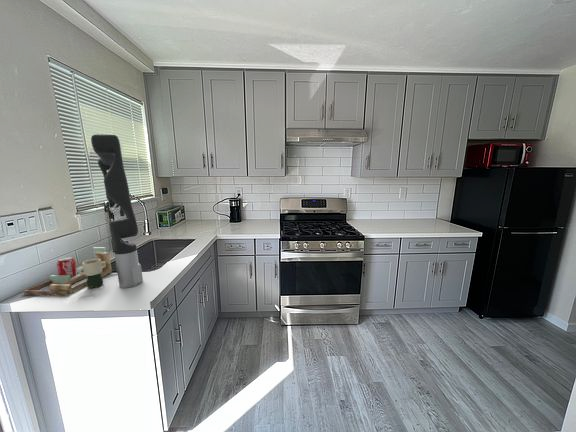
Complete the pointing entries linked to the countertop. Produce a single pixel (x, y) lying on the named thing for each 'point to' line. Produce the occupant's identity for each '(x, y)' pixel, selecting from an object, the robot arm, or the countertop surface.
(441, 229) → the countertop surface
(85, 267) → the character mug
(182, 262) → the countertop surface
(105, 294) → the countertop surface
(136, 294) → the countertop surface
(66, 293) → the frame
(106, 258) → the oak sled
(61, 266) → the soda can
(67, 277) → the sage sled
